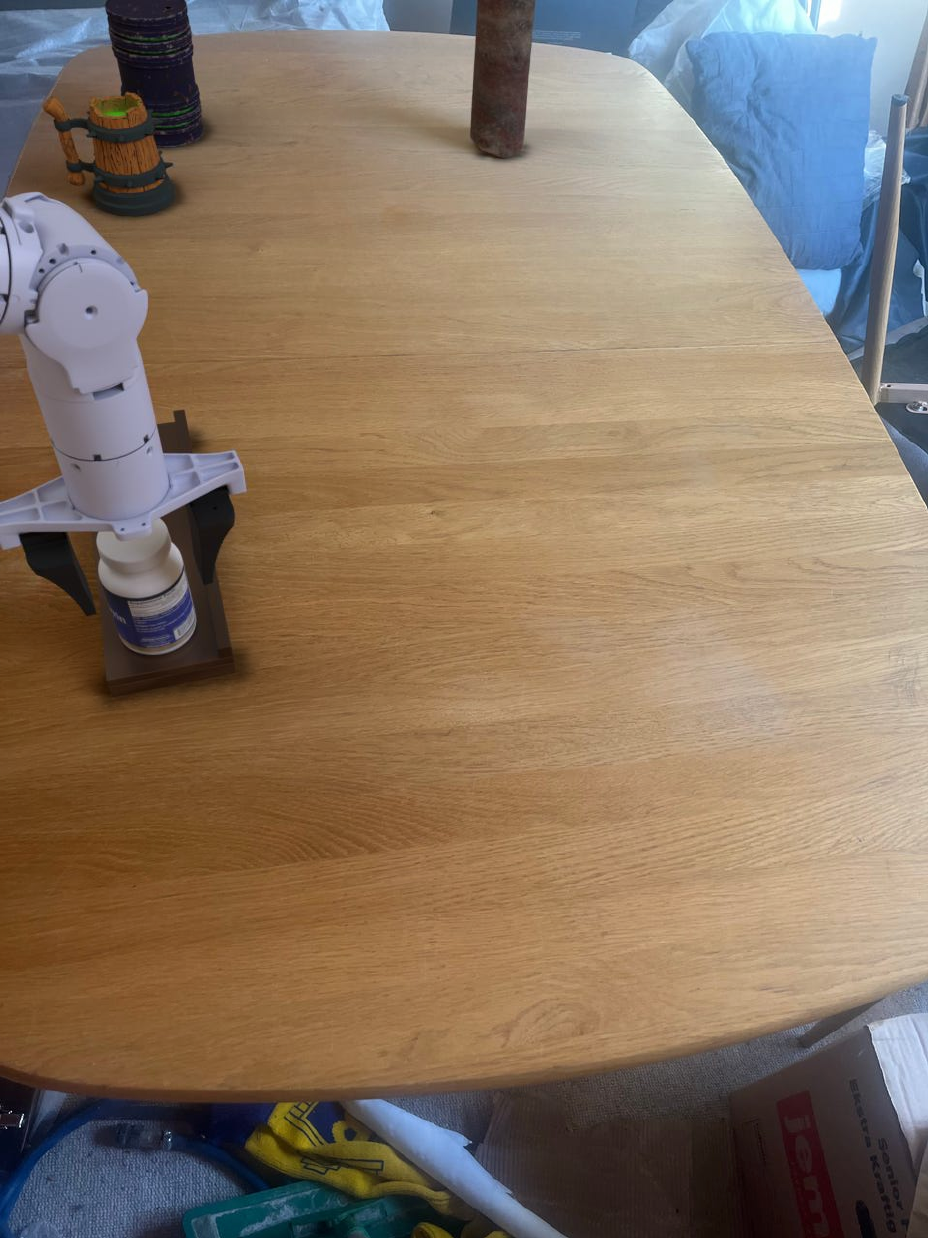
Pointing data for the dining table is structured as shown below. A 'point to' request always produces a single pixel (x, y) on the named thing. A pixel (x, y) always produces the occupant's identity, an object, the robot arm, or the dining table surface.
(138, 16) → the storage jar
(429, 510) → the dining table surface
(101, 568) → the pill bottle
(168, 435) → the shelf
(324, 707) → the dining table surface
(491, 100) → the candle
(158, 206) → the mug
